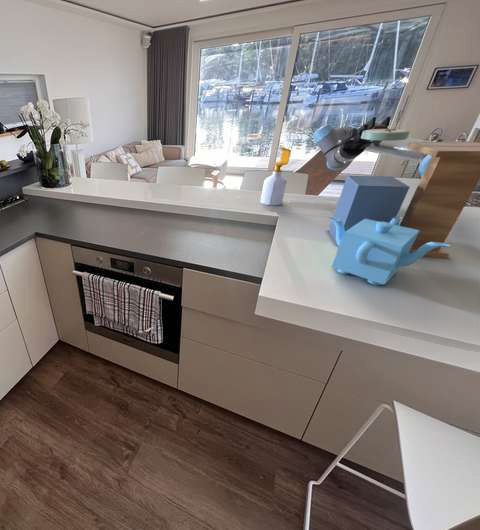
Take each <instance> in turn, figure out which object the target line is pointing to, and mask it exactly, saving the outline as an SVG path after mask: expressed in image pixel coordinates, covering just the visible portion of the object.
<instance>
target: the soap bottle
mask: <svg viewBox="0 0 480 530" xmlns="http://www.w3.org/2000/svg"><path fill="white" fill-rule="evenodd" d="M276 149H279V150H281V155H280V156H281V157H280V160H279V161H278V162H272V163H271V165H273V166H274V167H275V169H273V170H272V174H271V175H270V176H267V177H266V178H265V179H264V181H263V185H262V190H261V195H260V200H259V202H260V203H261V204H262V205H265V206H272V207H273V206H276V207H277V206H280V205H282V203H283V200H284V196H285V191H286V187H287V180H286V178H285V177H284V176H282V172H283V170H282V169H281V168H282V167H283V166H285V165H288V163H289V161H290V156H291V150H290V149H288V148H285V147H281V146H276Z"/></svg>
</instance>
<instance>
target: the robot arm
mask: <svg viewBox="0 0 480 530" xmlns="http://www.w3.org/2000/svg"><path fill="white" fill-rule="evenodd" d="M376 120H377V117H372V118H371V119H370V120H369V121H368V122H366V123H367V124H364V123H363V124H364V125H363V124H362V125H361V126H360V127H358V128H355V127H353V126H351V125H350V126H349V125H348V126H347V125H344V126H341V127H336V128H335V127H334V126H333V125H332V124H331V123H326V124H324V125H322V126H321V127H319V128H318V129H316V130H315V132H313V133H312V138H313V141H314V142H315V144H316V145H317V146H318V148H319V149H320V151H321V152H322V154H323V155H324V157H325V158H326V166H327V168H328V169H329V170H332V171H340V170H342V169H344V168H345V167H346V166H348V165H349V164H350V163H351V162H352V161H353V160H356V158H357V157H359V156H360V155H361V154H363V153H364V151H365V152H369V153H373V154H374V153H375V154H379V155H384V156H388V157H393V158H398V159H404V160H407V161H412V162H418V164H419V168H418V172H419V175H420V178H422V176H423V174H424V172H425V170H426V168H427V165H428V163H429V161H430V159H431V157H432V156H430V155H427V154H425V153H422V152H419V151H416V150H413V149H411V148H408V144H409V142H460V141H458V140H447V139H440V138H437V139H435V140H428V139H427V140H426V139H420V138H414V137H409V136H408V138H407V139H405V140H394V141H379V140H366V139H362V138H361V135H362V132H363V131H364V130H370V129H372V128H373V127H374V126H375V123H376V122H377V121H376ZM379 124H382V125H386V129H390V124H391V116H387V117H386V118H385V119H383V120H382V122H381V123H379ZM476 186H480V180H479V182H478V183H477V185H476Z"/></svg>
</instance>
